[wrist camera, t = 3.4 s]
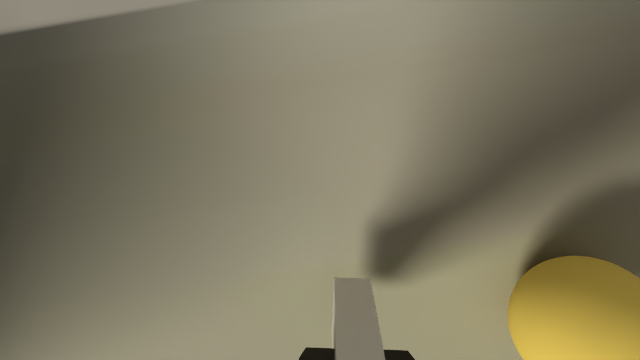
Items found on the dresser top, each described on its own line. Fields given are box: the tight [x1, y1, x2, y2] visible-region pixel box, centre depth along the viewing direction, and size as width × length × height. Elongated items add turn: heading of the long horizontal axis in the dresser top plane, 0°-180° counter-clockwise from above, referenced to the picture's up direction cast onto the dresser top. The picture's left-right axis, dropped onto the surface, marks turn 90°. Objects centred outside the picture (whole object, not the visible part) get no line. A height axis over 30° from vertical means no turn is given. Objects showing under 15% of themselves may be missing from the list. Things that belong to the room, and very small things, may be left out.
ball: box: [508, 256, 640, 360], centre depth 16 cm, size 6×6×6 cm
